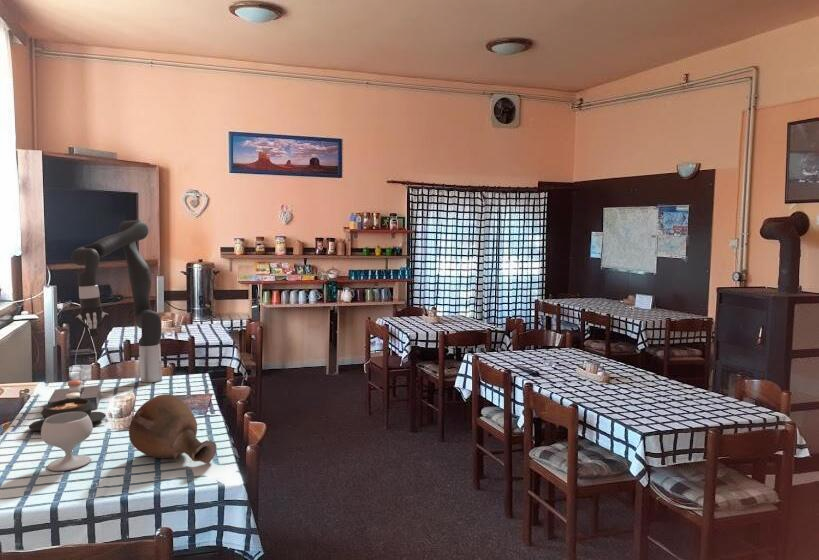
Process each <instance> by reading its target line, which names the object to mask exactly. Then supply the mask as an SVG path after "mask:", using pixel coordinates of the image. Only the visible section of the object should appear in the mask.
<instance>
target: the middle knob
mask: <svg viewBox="0 0 819 560" xmlns="http://www.w3.org/2000/svg"><path fill="white" fill-rule="evenodd" d="M82 383H83V382H82V380H81V379H72V380H68V381H67V386H68V388H69V391H70V393H75V392H78V393H80V394H81V388H80V384H82Z"/></svg>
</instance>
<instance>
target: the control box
mask: <svg viewBox="0 0 819 560" xmlns="http://www.w3.org/2000/svg"><path fill="white" fill-rule="evenodd" d="M69 393H70V391H69V387H67V388H59V389H54V390H53V393H52V394H51V396H50V398H49V399H48V401H47V404H49V403H52V402H55V401H59V400H64V399H66V394H69ZM101 397H102V390H101V385H100V384H97V385H89V386H84V388H83V390H81V394H80V397H79V398H83V399H88V400H90V402H91V404H92V405H93V408H92V409H91V411H93V410H95V411H96V410H98V407H99V404H100V401H101Z"/></svg>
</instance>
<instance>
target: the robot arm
mask: <svg viewBox="0 0 819 560" xmlns="http://www.w3.org/2000/svg"><path fill="white" fill-rule="evenodd" d="M118 228H119V229H118V230H119V231H118V232H117V233H114V234H111V235H107V236H105V237H103V238H102V237H101V238H100V239H98V240H96V241H95V242H93V243H89V244H85V245H84V246H80V247H78V248H76V249H74V251H73V252H72V253H71V256H70V260H71V262H72V263H73V264H75V265H77V266H81V267H82V266H84V271H80V272H79V273H78V274H77V280H78V297H79V305H80V306H79V307H80V311H79V314H78V315H77V316H75V318H74V320H75V321H76V322H77V323H78V324H80V325H81V326H82V327H83V328H84V329H88V330H89V336H90V337H91V338H92V339H93V338H96V337H97V336H98V328H100V327H101V326H102V325H103V323H104V322H105V321H106V319H107V318H108V317H109V313H106V312H104V310H103V308H102V304H101V295H100V289H99V284H98V283H99V282H98V271H99V265H100V259H101V258H104V257H106V256H108V255H109V254H112V253H113V252H116V251H117V250H119V249H121V248H123V250H124V251H123V252H124V254H125V255H124V256H125V261H126V265H127V273H128V274H127V275H128V279H129V285H130V288H131V289H130V290H131V294H132V301H133V311H134V321H135V325H136V326H137V327H138V329H141V337H140V338H139V339H138V351H139V353H138V355H139V368H140V369H139V370H140V371H139V372H140V382H141V383H145V384H146V383H155V382H156V383H157V382H160V381H163V371H162V369H163V368H162V357H161V355H162V353H161V339H162V319H161V316H160V314H159V313H158V312H156V311H154V310H152V307H151V302H150V296H151V294H150V293H151V290H152V289H151V288H152V275H151V270H150V266H149V265H148V263H147V262H146V260H145V258H143V256H142V255H141V253H140V251H139V250H138V247H137V243H136V242H137V241H138V242H139V241H142V240H144V239H146V238H147V237H148V235H149V227H148V224H147V222H145V221H144V220H139V219H138V220H137V219H136V220H135V219H134V220H133V219H132V220H125V221H122V222H121V223H120V225H119V227H118ZM100 317H101V320H100V321H99V322H98V320H99V319H100ZM83 319H84V320H85V321H87V323H86V322H85V321H84V320H83Z"/></svg>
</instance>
